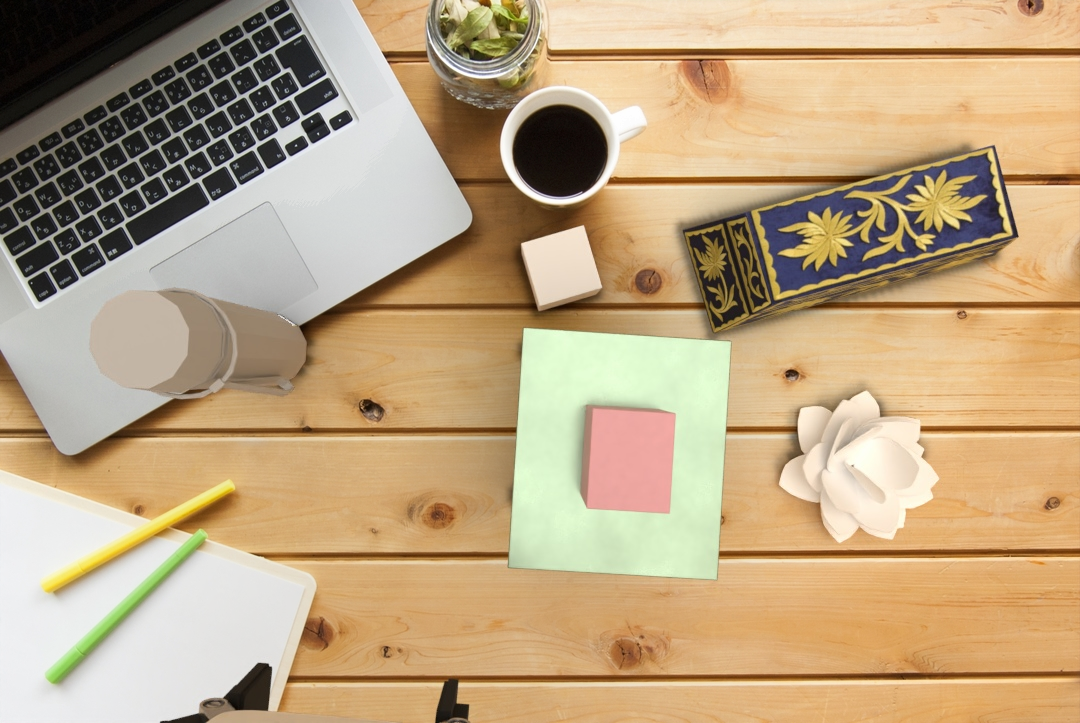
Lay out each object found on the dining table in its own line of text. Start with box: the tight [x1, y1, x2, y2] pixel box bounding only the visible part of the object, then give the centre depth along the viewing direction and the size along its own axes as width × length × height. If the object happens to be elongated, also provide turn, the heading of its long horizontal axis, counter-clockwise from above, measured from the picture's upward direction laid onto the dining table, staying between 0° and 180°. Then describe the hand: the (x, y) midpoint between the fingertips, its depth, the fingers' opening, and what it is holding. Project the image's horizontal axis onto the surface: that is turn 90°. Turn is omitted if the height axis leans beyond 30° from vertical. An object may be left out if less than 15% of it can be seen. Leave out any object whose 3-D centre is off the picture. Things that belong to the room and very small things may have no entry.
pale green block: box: [507, 326, 733, 581], centre depth 61 cm, size 16×14×24 cm
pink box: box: [580, 405, 676, 514], centre depth 46 cm, size 6×5×5 cm
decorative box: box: [682, 144, 1020, 334], centre depth 69 cm, size 11×30×9 cm, turn 105°
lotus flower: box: [778, 390, 940, 544], centre depth 69 cm, size 14×15×9 cm
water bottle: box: [88, 286, 308, 400], centre depth 60 cm, size 9×8×25 cm
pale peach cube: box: [520, 224, 603, 312], centre depth 70 cm, size 6×6×6 cm
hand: (356, 699), depth 38 cm, fingers open, 9 cm apart
